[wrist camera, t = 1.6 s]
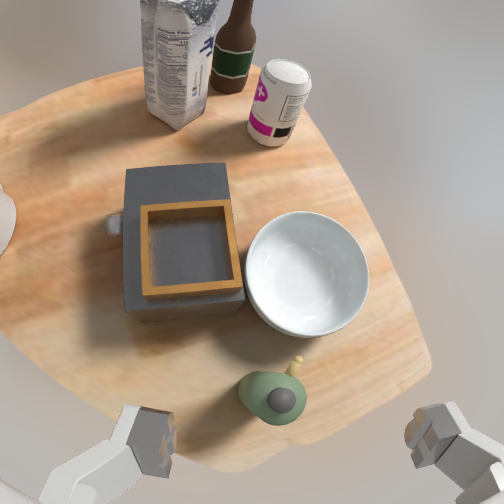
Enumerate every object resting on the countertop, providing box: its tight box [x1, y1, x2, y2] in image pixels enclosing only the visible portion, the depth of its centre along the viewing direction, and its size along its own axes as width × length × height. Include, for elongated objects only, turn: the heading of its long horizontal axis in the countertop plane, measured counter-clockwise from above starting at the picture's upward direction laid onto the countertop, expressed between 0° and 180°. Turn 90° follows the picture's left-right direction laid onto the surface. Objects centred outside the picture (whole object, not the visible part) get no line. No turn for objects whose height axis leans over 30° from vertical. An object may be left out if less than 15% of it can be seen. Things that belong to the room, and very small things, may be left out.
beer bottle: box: [210, 0, 256, 94], centre depth 46 cm, size 8×8×24 cm
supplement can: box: [247, 59, 311, 146], centre depth 47 cm, size 8×8×15 cm
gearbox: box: [105, 163, 245, 322], centre depth 37 cm, size 16×18×11 cm
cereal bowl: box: [244, 211, 369, 338], centre depth 40 cm, size 17×17×7 cm
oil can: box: [238, 356, 306, 426], centre depth 32 cm, size 8×6×12 cm
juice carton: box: [140, 0, 220, 131], centre depth 39 cm, size 9×10×27 cm
